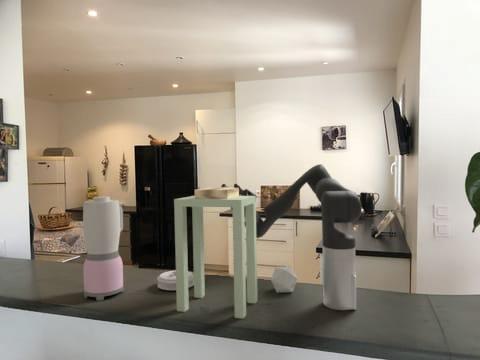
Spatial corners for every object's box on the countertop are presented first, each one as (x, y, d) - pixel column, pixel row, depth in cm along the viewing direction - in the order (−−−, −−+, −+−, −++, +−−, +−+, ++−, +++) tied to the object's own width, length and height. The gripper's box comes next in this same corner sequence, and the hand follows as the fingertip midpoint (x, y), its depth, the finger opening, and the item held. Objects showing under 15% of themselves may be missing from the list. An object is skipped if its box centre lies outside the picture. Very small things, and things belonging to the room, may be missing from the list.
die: (290, 299, 114) (304, 272, 117) (266, 284, 116) (280, 258, 118) (287, 299, 122) (300, 274, 125) (264, 286, 123) (278, 261, 126)
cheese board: (248, 193, 121) (248, 186, 121) (227, 198, 102) (227, 189, 102) (220, 193, 124) (220, 186, 124) (194, 198, 105) (194, 189, 105)
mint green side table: (257, 300, 112) (255, 195, 111) (243, 318, 99) (241, 199, 98) (197, 294, 118) (195, 195, 117) (176, 310, 105) (174, 199, 104)
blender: (103, 303, 112) (100, 198, 111) (74, 298, 117) (71, 198, 116) (138, 287, 127) (135, 195, 126) (111, 283, 132) (108, 194, 131)
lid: (199, 289, 124) (198, 274, 124) (162, 295, 119) (161, 280, 119) (188, 279, 136) (188, 266, 136) (154, 284, 130) (153, 270, 130)
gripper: (261, 218, 128) (248, 196, 114) (223, 217, 133) (206, 196, 118) (263, 198, 132) (251, 175, 117) (226, 198, 136) (210, 176, 122)
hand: (228, 186), depth 118 cm, fingers closed on cheese board, 3 cm apart
